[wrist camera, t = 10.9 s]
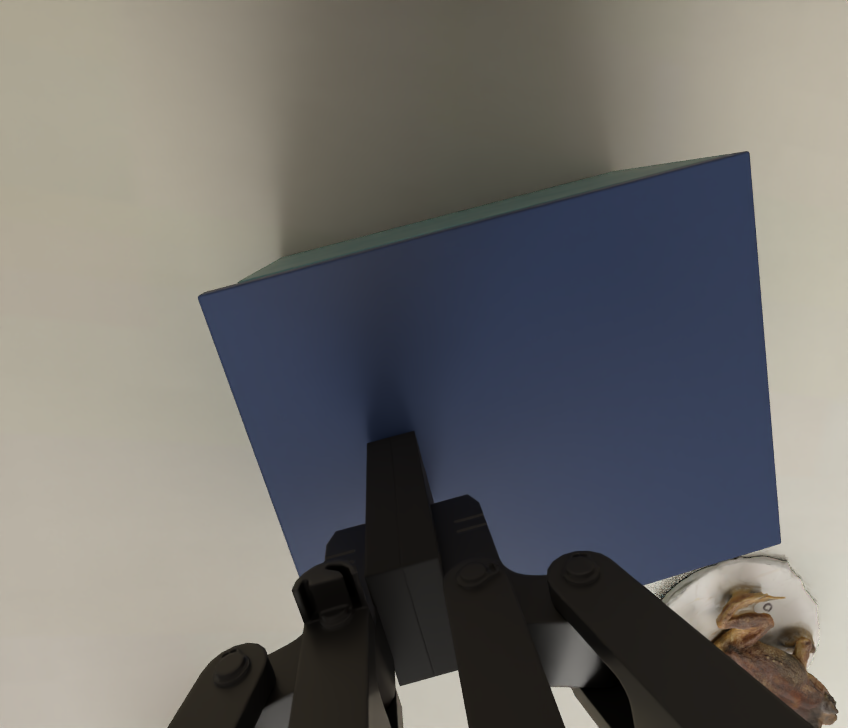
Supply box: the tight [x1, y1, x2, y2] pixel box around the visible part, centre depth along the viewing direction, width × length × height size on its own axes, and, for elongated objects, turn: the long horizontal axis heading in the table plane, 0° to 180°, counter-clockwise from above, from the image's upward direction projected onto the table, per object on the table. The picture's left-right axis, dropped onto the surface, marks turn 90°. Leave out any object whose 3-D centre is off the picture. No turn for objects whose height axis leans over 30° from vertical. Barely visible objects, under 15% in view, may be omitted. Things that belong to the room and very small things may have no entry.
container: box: [238, 154, 728, 283], centre depth 23 cm, size 16×14×9 cm
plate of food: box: [662, 556, 838, 728], centre depth 32 cm, size 12×12×4 cm
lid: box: [198, 151, 781, 585], centre depth 18 cm, size 16×14×1 cm
